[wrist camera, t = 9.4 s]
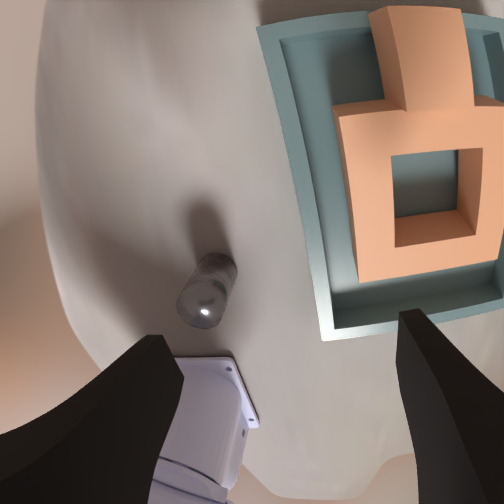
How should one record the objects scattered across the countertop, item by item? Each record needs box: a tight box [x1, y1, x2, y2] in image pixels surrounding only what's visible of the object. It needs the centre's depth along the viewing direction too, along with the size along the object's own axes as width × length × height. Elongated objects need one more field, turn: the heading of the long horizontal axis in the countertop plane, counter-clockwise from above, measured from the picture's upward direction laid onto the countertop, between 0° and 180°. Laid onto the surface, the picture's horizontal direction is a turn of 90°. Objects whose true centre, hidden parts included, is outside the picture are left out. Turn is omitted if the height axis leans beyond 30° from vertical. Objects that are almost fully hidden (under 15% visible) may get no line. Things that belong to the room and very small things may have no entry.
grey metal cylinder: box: [177, 254, 237, 329], centre depth 18 cm, size 2×2×4 cm
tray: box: [256, 10, 504, 341], centre depth 14 cm, size 17×13×2 cm
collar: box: [331, 6, 504, 283], centre depth 11 cm, size 12×8×3 cm, turn 14°
